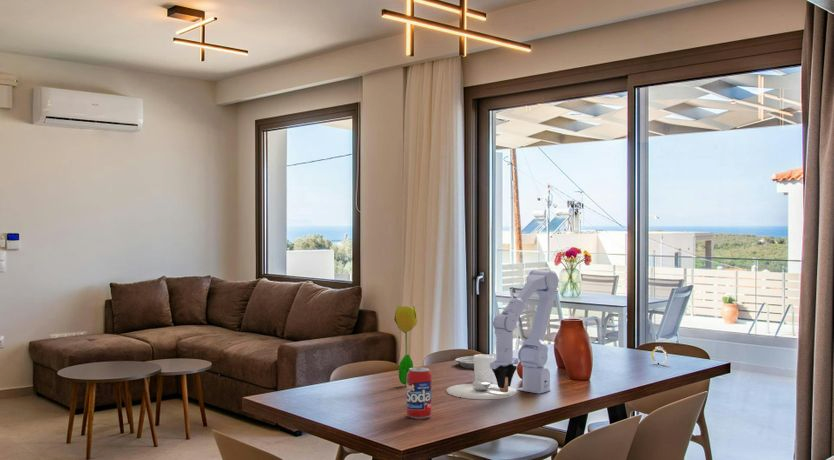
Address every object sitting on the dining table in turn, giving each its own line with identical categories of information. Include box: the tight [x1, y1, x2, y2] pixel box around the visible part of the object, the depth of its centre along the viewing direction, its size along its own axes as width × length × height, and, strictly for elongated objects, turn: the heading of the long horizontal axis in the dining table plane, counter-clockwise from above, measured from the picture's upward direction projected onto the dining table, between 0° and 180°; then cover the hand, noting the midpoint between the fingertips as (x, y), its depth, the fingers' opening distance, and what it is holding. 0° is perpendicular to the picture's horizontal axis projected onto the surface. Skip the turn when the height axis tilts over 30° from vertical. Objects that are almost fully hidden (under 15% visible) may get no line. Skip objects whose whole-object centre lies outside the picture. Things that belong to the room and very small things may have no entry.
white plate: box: [446, 383, 517, 401], centre depth 274 cm, size 25×25×1 cm
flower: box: [393, 305, 418, 387], centre depth 284 cm, size 9×8×30 cm
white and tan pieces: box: [472, 376, 509, 393], centre depth 271 cm, size 15×6×6 cm, turn 47°
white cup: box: [473, 353, 495, 384], centre depth 292 cm, size 8×8×10 cm
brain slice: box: [454, 355, 474, 370], centre depth 326 cm, size 20×17×3 cm
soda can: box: [406, 366, 433, 420], centre depth 237 cm, size 8×8×15 cm
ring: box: [650, 345, 669, 364], centre depth 333 cm, size 7×3×8 cm, turn 43°
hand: (504, 386), depth 267 cm, fingers open, 3 cm apart
